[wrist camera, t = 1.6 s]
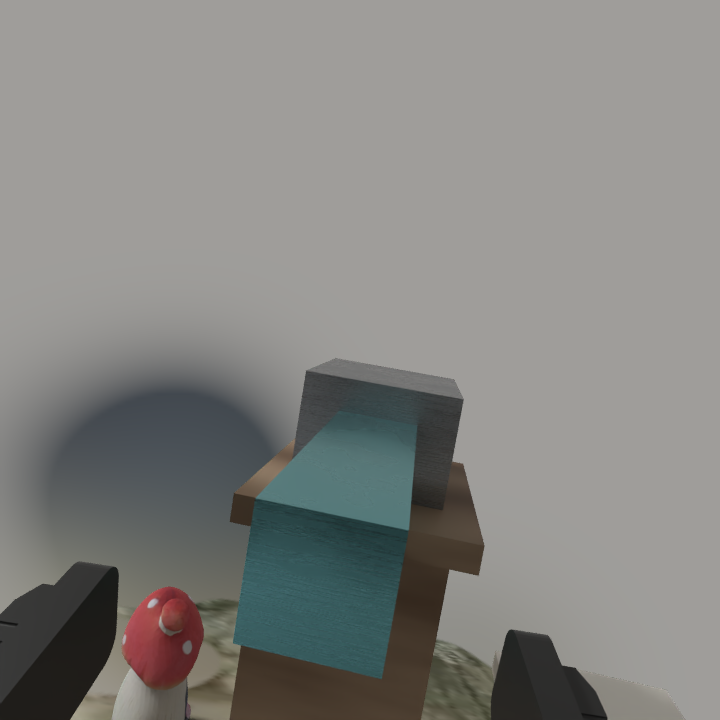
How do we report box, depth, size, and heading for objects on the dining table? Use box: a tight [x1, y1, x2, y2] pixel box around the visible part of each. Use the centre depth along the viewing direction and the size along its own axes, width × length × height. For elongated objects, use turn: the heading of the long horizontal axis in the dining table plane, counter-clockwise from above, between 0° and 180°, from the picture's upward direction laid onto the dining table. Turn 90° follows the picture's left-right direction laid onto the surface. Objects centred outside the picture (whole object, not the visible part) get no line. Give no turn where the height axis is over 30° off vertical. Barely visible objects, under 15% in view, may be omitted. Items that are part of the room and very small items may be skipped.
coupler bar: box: [233, 358, 463, 679], centre depth 22 cm, size 20×7×5 cm, turn 173°
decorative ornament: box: [112, 587, 204, 720], centre depth 46 cm, size 9×7×15 cm
